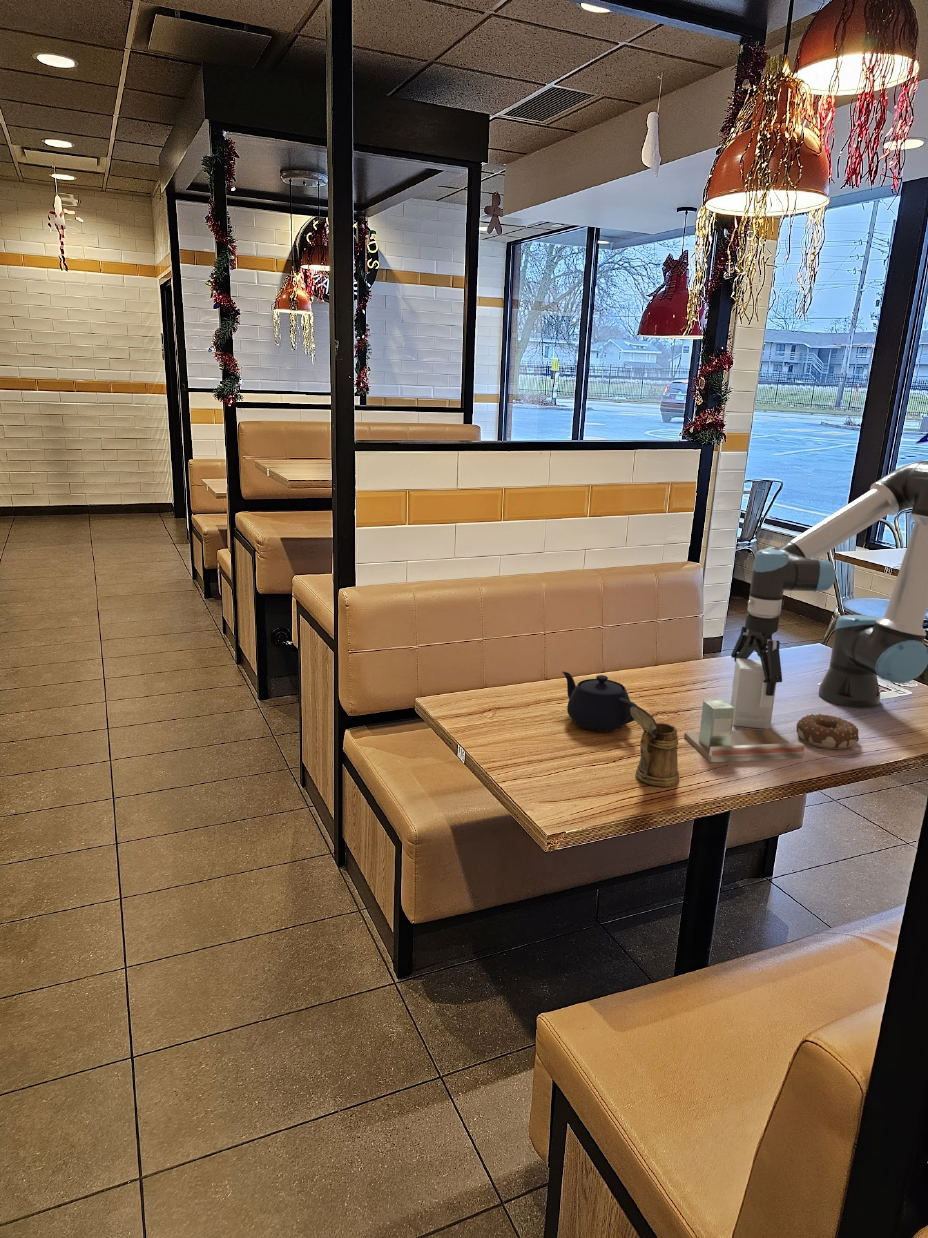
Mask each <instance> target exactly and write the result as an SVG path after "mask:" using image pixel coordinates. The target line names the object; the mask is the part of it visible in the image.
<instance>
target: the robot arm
mask: <svg viewBox="0 0 928 1238" xmlns="http://www.w3.org/2000/svg"><path fill="white" fill-rule="evenodd" d="M907 509H911V512H910V516H911V518H912V519H913V521H914V525H913V528H912V531H911V534H910V537H909V541H908V543H907V546H906V549H905V553H904V554H903V555H904V556H903V558H902V562H901V565H900V568H899V571H898V574H897V577H896V580H895V583H894V586H893V589H892V593H891V595H890V598H889V601H888V605H887V608H886V610H885V614H884V615H883V616H882V617H881V616H875V615H867V614H866V615H862V614H846V615H840V616H839V617H837V620H836V623H835V627H834V628H833V629H834V634H833V641H832V648H831V653H830V654H831V655H830V662H829V667H828V669H827V671H826V673H825V674H824V677H823V679H822V682H821V683H820V684H819V687H818V695H819V697H820V698H822V699H823V700H825V701H827V702H829V703H832V704H836V705H839V706H845V707H850V708H859V709H861V708H862V709H863V708H864V709H867V708H868V709H869V708H874V707H877V706H879V705H880V702H881V701H880V699H881V692H880V685H879V681H878V678H880V679H882V680H884V681H888V682H891V683H894V684H905V683H910V682H911V681H913V680H915V679H916V678H919V676H920V675H922V674H923V673H924V671H925V669H926V668H927V666H928V648H927V647H926V646H925V644H924V642H925V638H926V636H927V632H926V631H925V629H924V627H923V623H924V621H925V617H926V614H927V612H928V460H919V461H915V462H911V463H909V464H906V465H904V466H902V467H899V468H898V469H895V470H893V471H891V472H890V473H888V474H886V475H885V476H883V477H881V478H880V479H879V480H877V481H875V482H873V483H872V484H871V485H870V488H869V490H868V491H867V492H865V493H864V494H862V495H861V496H859V497H857V498H856V499H855V500H852V501H851V502H850V503H848V504H846V505H845V506H843V507H841V508H840V509H838V510H837V511H835V512H834V513H832V514H830V515H829V516H828V517H826V518H824V519H822V520H821V521H819V522H817V523H816V524H814V525H813V526H811V527H810V528H808V529H806V530H805V531H803V532H801V534H799V535H797V536H796V537H794V538H792V539H791V540H789V541H787V542H785V543H784V544H783V545H781V546H780V547H777V546H775V547H774V546H773V547H767V548H763V549H759V550H758V551H757V552H756V553H755V556H754V558H753V559H754V560H753V563H752V564H753V565H752V567H751V568H752V571H751V573H752V574H751V581H750V587H749V588H750V589H749V597H748V601H747V612H748V613H746V616H745V623H744V625H742V627H741V630H740V634H739V636H738V638H737V641H736V643H735V645H734V647H733V649H732V652H731V654H730V656H731V658H733V659H734V663H736V659H737V658H741V659H749V658H750V656H751V655H752V653H753V652H755V653H756V654H757V656H758V657H759V658H760V659H759V660H761V663H762V667H763V671H764V675H765V680H764V681H763V686H762V693H761V700H760V706H759V707H761V708H771V707H772V701H773V695H774V690H775V684H776V685H777V683H782V682H783V674H782V673H783V672H782V665H781V657H780V656H781V655H780V644H781V643H780V640H773V634H774V633H777V632H778V630H779V625H780V624H779V623H780V617H779V616H780V615H781V612H782V604H783V597H784V592H785V591H786V592H787V591H788V592H791V591H793V592H795V591H796V592H814V593H815V592H822V591H828V590H829V589H831V588H832V586H833V584H834V582H835V577H836V571H835V570H836V569H835V567H834V564H832V562H831V561H830V560H826V559H819V558H821V557H822V556H824V555H826V554H827V553H829V552H830V551H832V550H833V549H835V548H837V547H838V546H840V545H841V544H843V543H845V542H846V541H847V540H849V539H851V538H853V537H854V536H856V535H857V534H859V533H861V532H863V530H865V529H867V528H868V527H870V526H871V525H873V524H875V523H876V522H879V521H880V520H881V519H883V518H885V517H886V516H888V515H889V516H896V515H897V514H898V513H900V512H902V511H905V510H907ZM734 673H735V670H734V672H733V674H734ZM769 676H770V677H769ZM877 676H878V677H877ZM733 681H734V678H733V679H732V682H733ZM732 689H733V685H732ZM775 691H776V690H775Z"/></svg>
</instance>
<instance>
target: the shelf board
mask: <svg viewBox="0 0 928 1238" xmlns="http://www.w3.org/2000/svg"><path fill="white" fill-rule="evenodd" d="M699 736H700V731H693V732H692V731H691V732H689V731H688V732H684V733H683V738H684V739H686V741H687V742H688V743H689V744H691V746H693V747H694V748H695V749H696V750H697V751H698V752H699V753H700V754H701V755H702V756H704V757H705V759H707V760H708V761H709V762H710V763H723V762H725V763H726V762H727V763H728V762H746V761H749V762H750V761H765V760H766V761H767V760H786V759H787V760H788V759H802V758H803V757H804V752H805V749H806V747H805V744H804V743H803V742H789V740H788V741H787V739H785V738H784V737H782V736H781V735H779V734H778V733H777V732H775V731H774V730H773V729H771V728H770V729H764V728H757V729H738V730H737V729H735V730H732V733H731V741H730V746H715V747H710V751H708V750H707V749H706V748H705V747H704V746H703V745H702V744H701V743H700V742H699ZM803 759H804V758H803Z"/></svg>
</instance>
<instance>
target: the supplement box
mask: <svg viewBox="0 0 928 1238" xmlns="http://www.w3.org/2000/svg"><path fill="white" fill-rule="evenodd" d="M734 671H735V673H734V672H733V679H734V681H733V680H732V686H733V688H732V690H731V691H732V692H731V697H730V698H731V700H730V705H731V706H733V707H734V716H733V724H732V726H736V727H737V726H738V727H747V728H756V729H771V725H772V719H773V718H772V717H773V710H774V702H775V697H776V688H777V683H776V684H775V690H774V695H773V701H772V707H771V708H761V707H759V706H760V700H761V693H762V686H763V681H764V680H765V675H764V671H763V667H762V663H761V659H753V658H752V659H749V658H748V659H741V658H737V659H736V662H735V664H734ZM769 677H770V676H769Z"/></svg>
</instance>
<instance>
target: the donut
mask: <svg viewBox="0 0 928 1238" xmlns="http://www.w3.org/2000/svg"><path fill="white" fill-rule="evenodd" d="M795 726H796V733H797V735H798V736H799V738H800V739H802V740H803V741H804V742H806V743H807V744H809V745H813V746H815V747H819V748H824V749H829V750H830V749H831V750H842V749H848V748H850V747H852V746H854V745H855V744H856V743H858V742H859V738H860V737H859V729H858V727H857V725H855V724H854V723H853V722H851V721H848V719H844V718H841V717H837V716H835V715H834V716H833V715H829V714H827V715H826V714H821V713H818V714H813V713H811V714H807V715H806V716H803V717H801V719H799V720H798V721H797V723H796V724H795Z"/></svg>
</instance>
